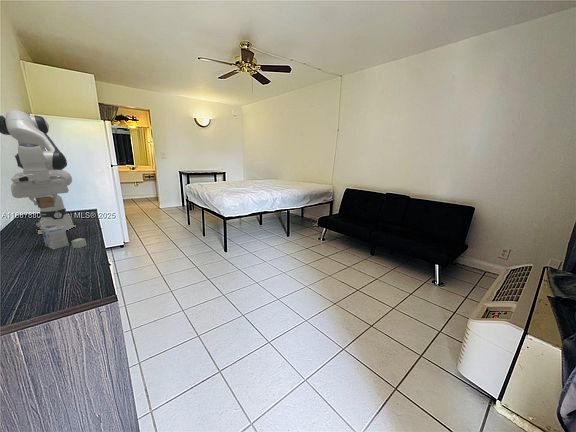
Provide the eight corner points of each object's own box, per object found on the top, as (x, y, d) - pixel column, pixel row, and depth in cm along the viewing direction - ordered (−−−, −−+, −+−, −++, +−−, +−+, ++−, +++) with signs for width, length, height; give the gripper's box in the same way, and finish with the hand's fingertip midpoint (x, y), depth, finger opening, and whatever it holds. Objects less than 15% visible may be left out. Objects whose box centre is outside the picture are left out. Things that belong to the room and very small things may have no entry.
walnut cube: (38, 207, 120) (35, 198, 119) (51, 205, 124) (48, 196, 123) (41, 208, 117) (39, 198, 116) (55, 206, 122) (52, 197, 120)
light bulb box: (45, 246, 126) (39, 227, 123) (61, 242, 132) (56, 224, 129) (53, 249, 121) (47, 230, 118) (69, 245, 127) (64, 226, 124)
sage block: (73, 248, 123) (71, 240, 122) (80, 245, 127) (78, 238, 126) (79, 248, 122) (77, 241, 121) (86, 245, 126) (85, 238, 125)
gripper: (62, 175, 127) (68, 200, 131) (6, 178, 110) (15, 207, 113) (67, 175, 124) (73, 200, 128) (10, 179, 107) (19, 208, 110)
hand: (45, 204), depth 120 cm, fingers closed on walnut cube, 5 cm apart
